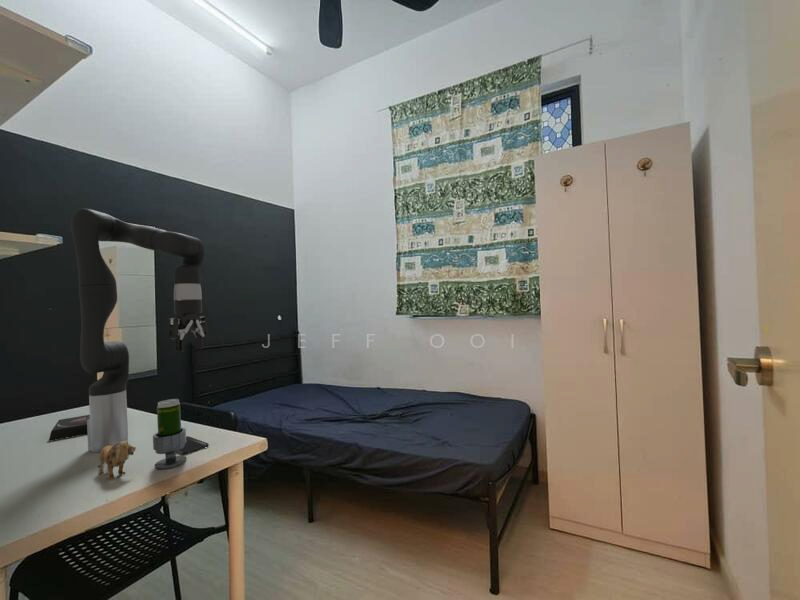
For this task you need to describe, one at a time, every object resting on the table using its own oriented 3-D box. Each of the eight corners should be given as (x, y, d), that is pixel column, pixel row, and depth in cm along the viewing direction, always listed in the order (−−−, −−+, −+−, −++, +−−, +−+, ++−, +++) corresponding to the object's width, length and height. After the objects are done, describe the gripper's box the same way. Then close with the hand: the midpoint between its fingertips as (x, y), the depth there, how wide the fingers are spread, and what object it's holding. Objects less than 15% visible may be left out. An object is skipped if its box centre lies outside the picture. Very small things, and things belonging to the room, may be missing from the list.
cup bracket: (147, 469, 95) (146, 437, 95) (168, 457, 103) (167, 427, 103) (173, 469, 94) (171, 437, 94) (192, 457, 102) (191, 427, 102)
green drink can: (186, 441, 101) (184, 398, 101) (172, 448, 96) (170, 403, 96) (168, 441, 102) (167, 399, 102) (153, 449, 96) (151, 404, 96)
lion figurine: (139, 473, 93) (138, 438, 93) (116, 483, 88) (114, 446, 89) (109, 465, 100) (107, 432, 100) (85, 473, 95) (84, 439, 95)
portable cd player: (57, 430, 136) (56, 420, 136) (114, 420, 146) (114, 410, 146) (49, 442, 122) (48, 431, 123) (113, 430, 133) (112, 419, 133)
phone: (187, 435, 119) (210, 443, 110) (187, 439, 119) (210, 447, 110) (160, 443, 112) (182, 453, 104) (160, 447, 112) (182, 457, 104)
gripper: (193, 299, 120) (194, 348, 120) (159, 299, 106) (160, 354, 106) (214, 298, 119) (215, 347, 119) (181, 297, 105) (183, 353, 105)
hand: (189, 350), depth 112 cm, fingers open, 8 cm apart
